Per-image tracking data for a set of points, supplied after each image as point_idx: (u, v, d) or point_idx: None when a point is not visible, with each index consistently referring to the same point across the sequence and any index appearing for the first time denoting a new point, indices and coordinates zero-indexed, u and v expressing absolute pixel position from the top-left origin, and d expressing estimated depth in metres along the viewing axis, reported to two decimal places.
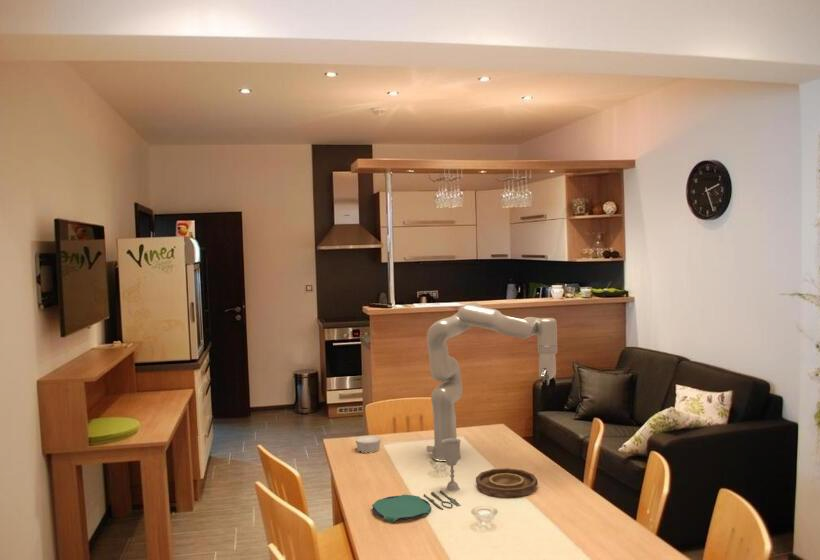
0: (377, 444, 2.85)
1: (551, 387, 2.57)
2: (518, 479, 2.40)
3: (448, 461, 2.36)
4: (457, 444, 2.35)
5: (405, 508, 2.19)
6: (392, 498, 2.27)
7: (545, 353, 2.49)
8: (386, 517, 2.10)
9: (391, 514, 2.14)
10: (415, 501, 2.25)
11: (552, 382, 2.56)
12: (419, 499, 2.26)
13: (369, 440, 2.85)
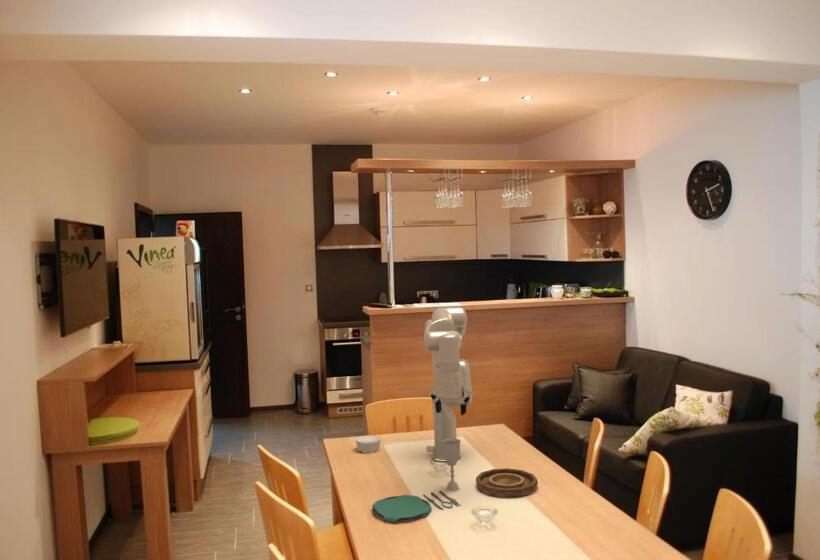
0: (377, 444, 2.85)
1: (439, 409, 2.39)
2: (518, 479, 2.40)
3: (448, 461, 2.36)
4: (457, 444, 2.35)
5: (405, 508, 2.19)
6: (392, 498, 2.27)
7: (459, 370, 2.34)
8: (386, 517, 2.10)
9: (391, 514, 2.14)
10: (415, 501, 2.25)
11: (440, 403, 2.39)
12: (419, 499, 2.25)
13: (369, 440, 2.85)
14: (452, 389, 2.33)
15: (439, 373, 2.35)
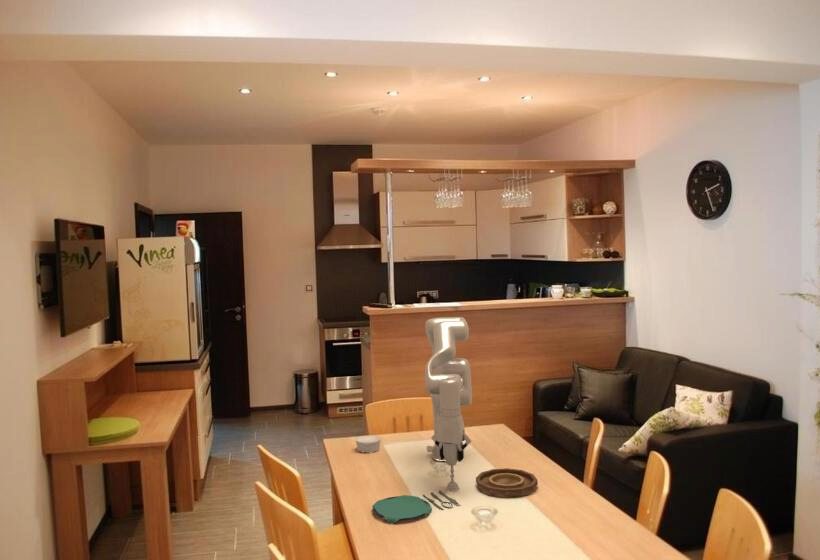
0: (377, 444, 2.85)
1: None
2: (518, 479, 2.40)
3: (448, 461, 2.36)
4: None
5: (405, 509, 2.18)
6: (392, 499, 2.27)
7: (459, 415, 2.35)
8: (387, 518, 2.10)
9: (392, 515, 2.14)
10: (415, 502, 2.24)
11: None
12: (419, 499, 2.25)
13: (369, 440, 2.85)
14: (453, 434, 2.34)
15: (440, 418, 2.36)
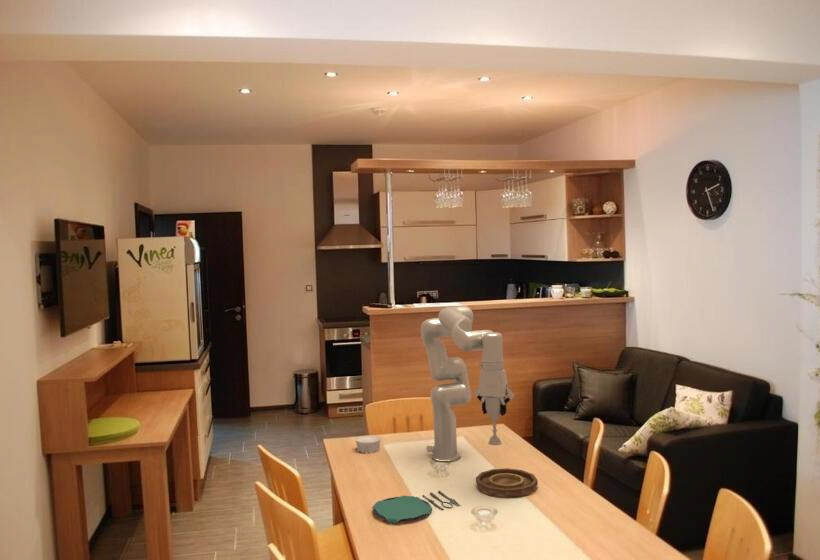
0: (377, 444, 2.85)
1: None
2: (518, 479, 2.40)
3: (491, 415, 2.35)
4: None
5: (406, 509, 2.18)
6: (391, 499, 2.26)
7: (502, 369, 2.34)
8: (388, 519, 2.09)
9: (392, 515, 2.13)
10: (415, 502, 2.24)
11: None
12: (419, 500, 2.25)
13: (369, 440, 2.85)
14: (496, 388, 2.33)
15: (482, 371, 2.35)
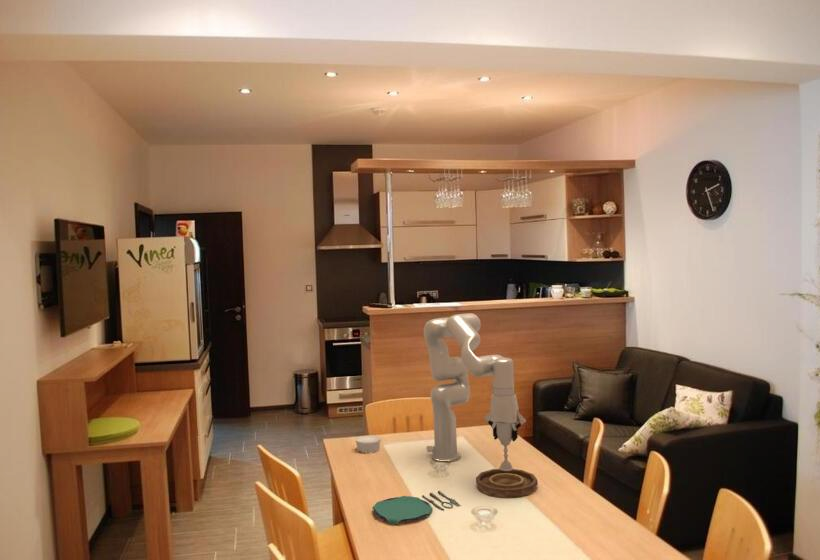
0: (377, 444, 2.85)
1: None
2: (518, 479, 2.40)
3: (502, 441, 2.36)
4: None
5: (406, 510, 2.18)
6: (391, 500, 2.26)
7: (513, 394, 2.35)
8: (388, 519, 2.09)
9: (393, 516, 2.13)
10: (415, 502, 2.24)
11: None
12: (419, 500, 2.25)
13: (369, 440, 2.85)
14: (507, 413, 2.33)
15: (494, 397, 2.36)
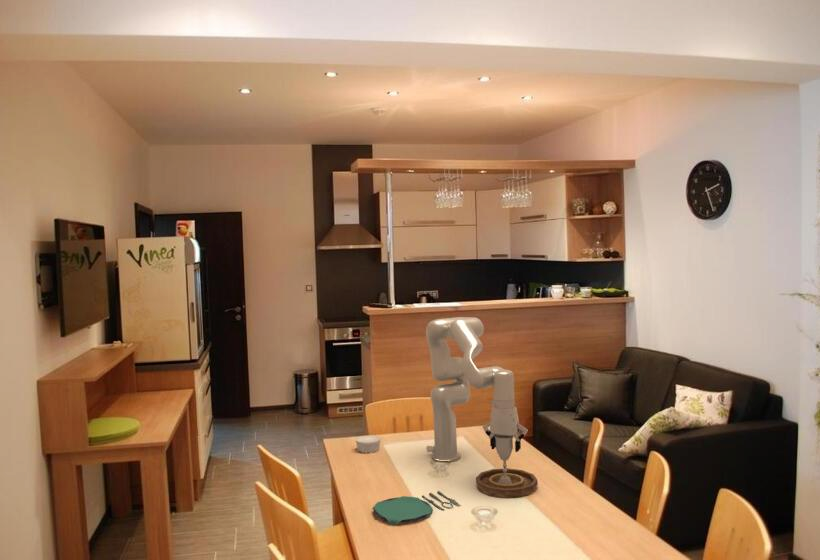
0: (377, 444, 2.85)
1: (494, 445, 2.39)
2: (518, 479, 2.40)
3: (501, 456, 2.36)
4: (510, 439, 2.35)
5: (406, 510, 2.17)
6: (391, 500, 2.25)
7: (514, 407, 2.35)
8: (389, 520, 2.08)
9: (393, 516, 2.12)
10: (415, 502, 2.23)
11: (494, 439, 2.40)
12: (419, 500, 2.24)
13: (369, 440, 2.85)
14: (507, 426, 2.34)
15: (494, 409, 2.36)
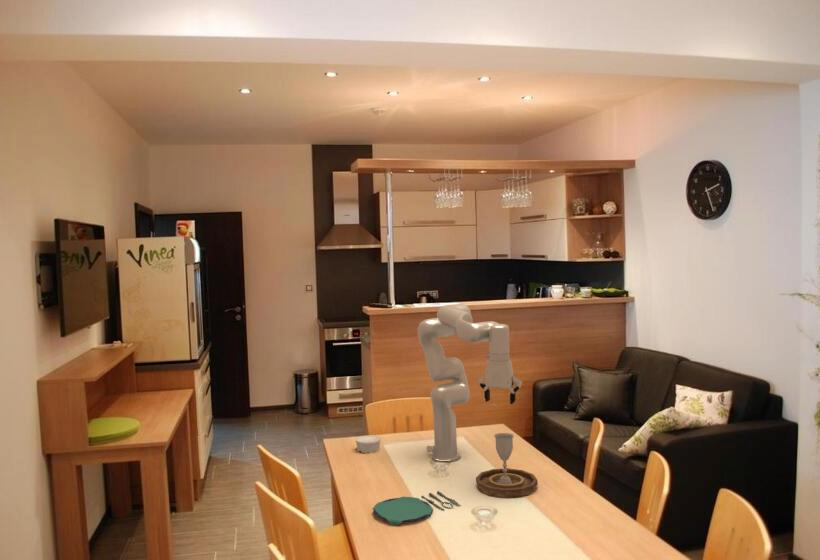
0: (377, 444, 2.85)
1: (488, 398, 2.43)
2: (518, 479, 2.40)
3: (501, 456, 2.36)
4: (510, 438, 2.35)
5: (406, 510, 2.17)
6: (391, 501, 2.25)
7: (509, 360, 2.38)
8: (390, 520, 2.08)
9: (394, 517, 2.12)
10: (415, 503, 2.23)
11: (488, 392, 2.43)
12: (419, 501, 2.24)
13: (369, 440, 2.85)
14: (502, 378, 2.37)
15: (489, 362, 2.39)
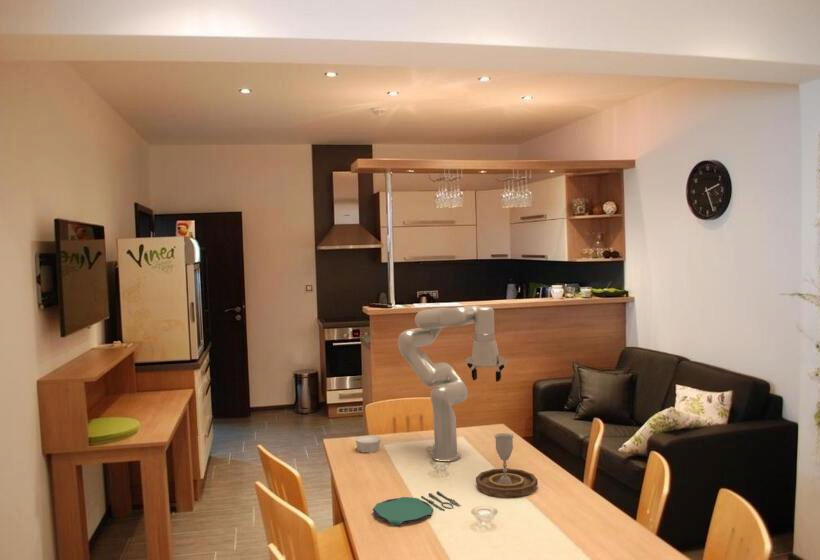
0: (377, 444, 2.85)
1: (475, 377, 2.57)
2: (518, 479, 2.40)
3: (501, 456, 2.36)
4: (510, 438, 2.35)
5: (407, 511, 2.17)
6: (391, 501, 2.25)
7: (494, 340, 2.53)
8: (390, 521, 2.08)
9: (394, 517, 2.12)
10: (415, 503, 2.23)
11: (476, 371, 2.58)
12: (419, 501, 2.24)
13: (369, 440, 2.85)
14: (488, 357, 2.51)
15: (475, 343, 2.54)
